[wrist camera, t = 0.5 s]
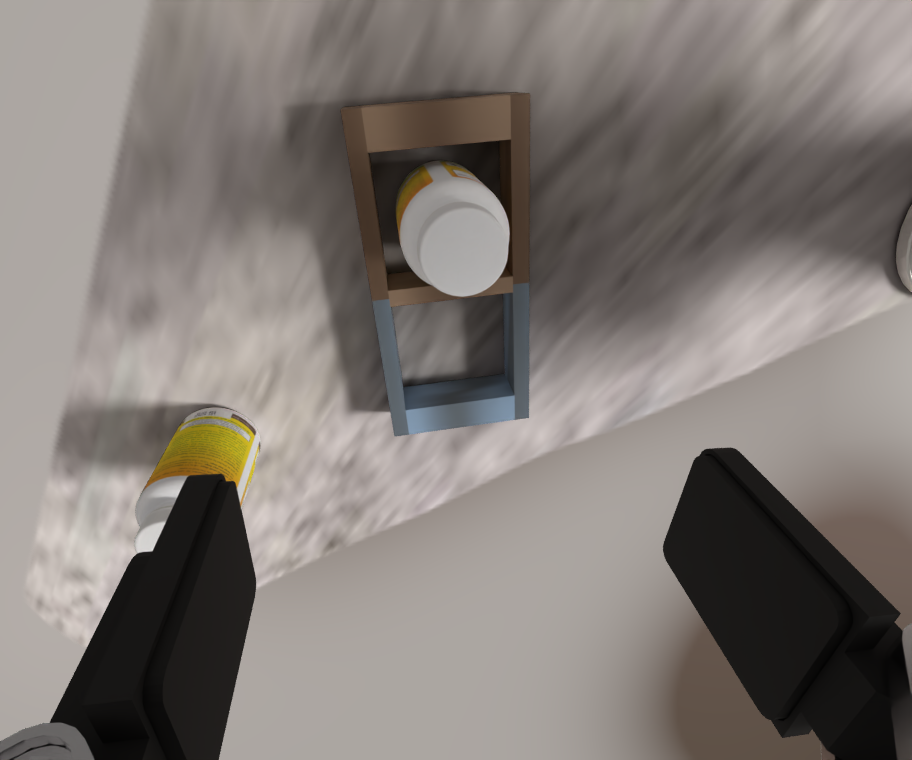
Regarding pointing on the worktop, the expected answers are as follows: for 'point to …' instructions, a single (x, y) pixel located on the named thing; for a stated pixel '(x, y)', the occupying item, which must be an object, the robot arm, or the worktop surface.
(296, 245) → the worktop surface
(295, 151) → the worktop surface
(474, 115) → the slot rack
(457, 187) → the supplement bottle
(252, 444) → the supplement bottle
